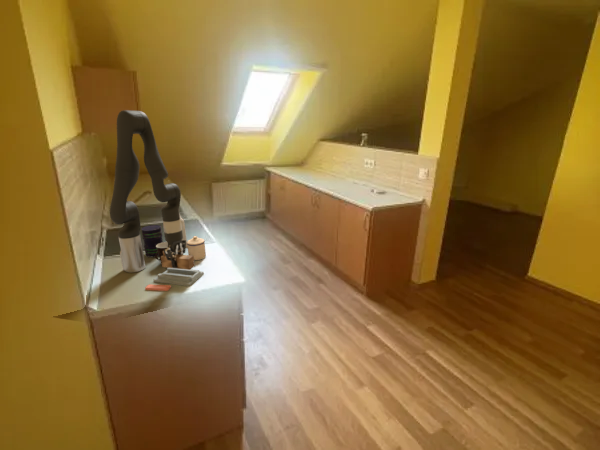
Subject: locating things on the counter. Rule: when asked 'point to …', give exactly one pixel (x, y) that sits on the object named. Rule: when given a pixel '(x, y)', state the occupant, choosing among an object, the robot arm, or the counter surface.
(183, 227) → the bottle
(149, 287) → the salmon pink bar
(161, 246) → the coffee mug
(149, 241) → the storage jar
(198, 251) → the teacup with lid
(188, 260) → the plank with peg
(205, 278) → the counter surface
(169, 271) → the cradle jig
